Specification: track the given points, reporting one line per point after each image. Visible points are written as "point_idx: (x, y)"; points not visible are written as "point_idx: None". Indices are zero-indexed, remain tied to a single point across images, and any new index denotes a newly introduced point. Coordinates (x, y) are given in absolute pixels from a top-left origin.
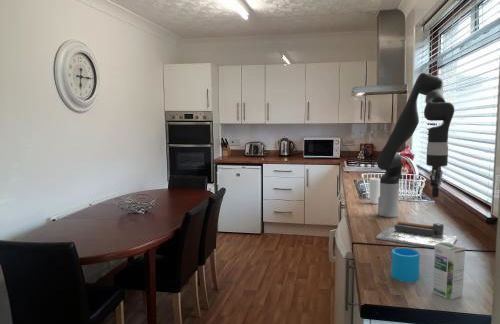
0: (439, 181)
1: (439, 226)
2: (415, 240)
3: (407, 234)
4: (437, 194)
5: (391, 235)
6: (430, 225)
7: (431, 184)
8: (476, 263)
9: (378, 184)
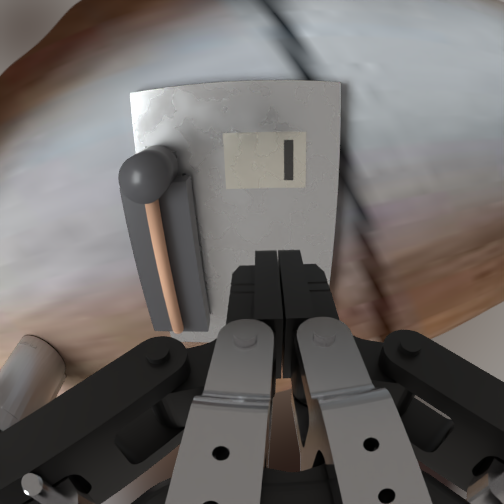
0: (389, 404)
1: (164, 167)
2: (306, 224)
3: (234, 268)
4: (301, 270)
5: None
6: (151, 211)
7: (426, 411)
8: (425, 5)
9: None
